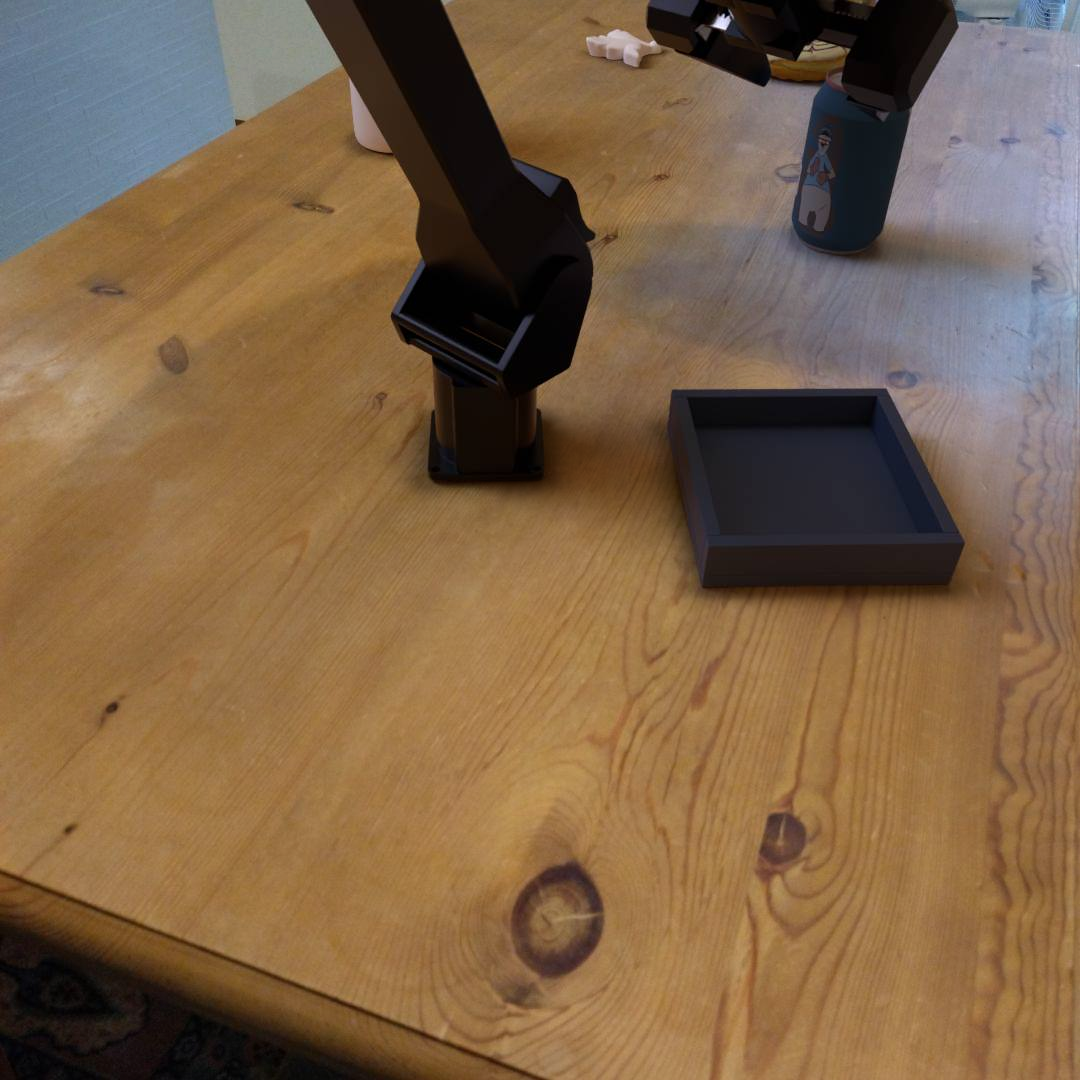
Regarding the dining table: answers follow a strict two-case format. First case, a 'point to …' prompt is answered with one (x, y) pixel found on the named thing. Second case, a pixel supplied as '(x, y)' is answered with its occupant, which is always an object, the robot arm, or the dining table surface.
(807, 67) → the decorated donut
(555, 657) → the dining table surface
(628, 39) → the acanthus leaf ornament
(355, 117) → the milk bottle
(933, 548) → the tray
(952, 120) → the dining table surface
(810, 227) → the soda can
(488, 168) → the robot arm
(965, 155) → the dining table surface
